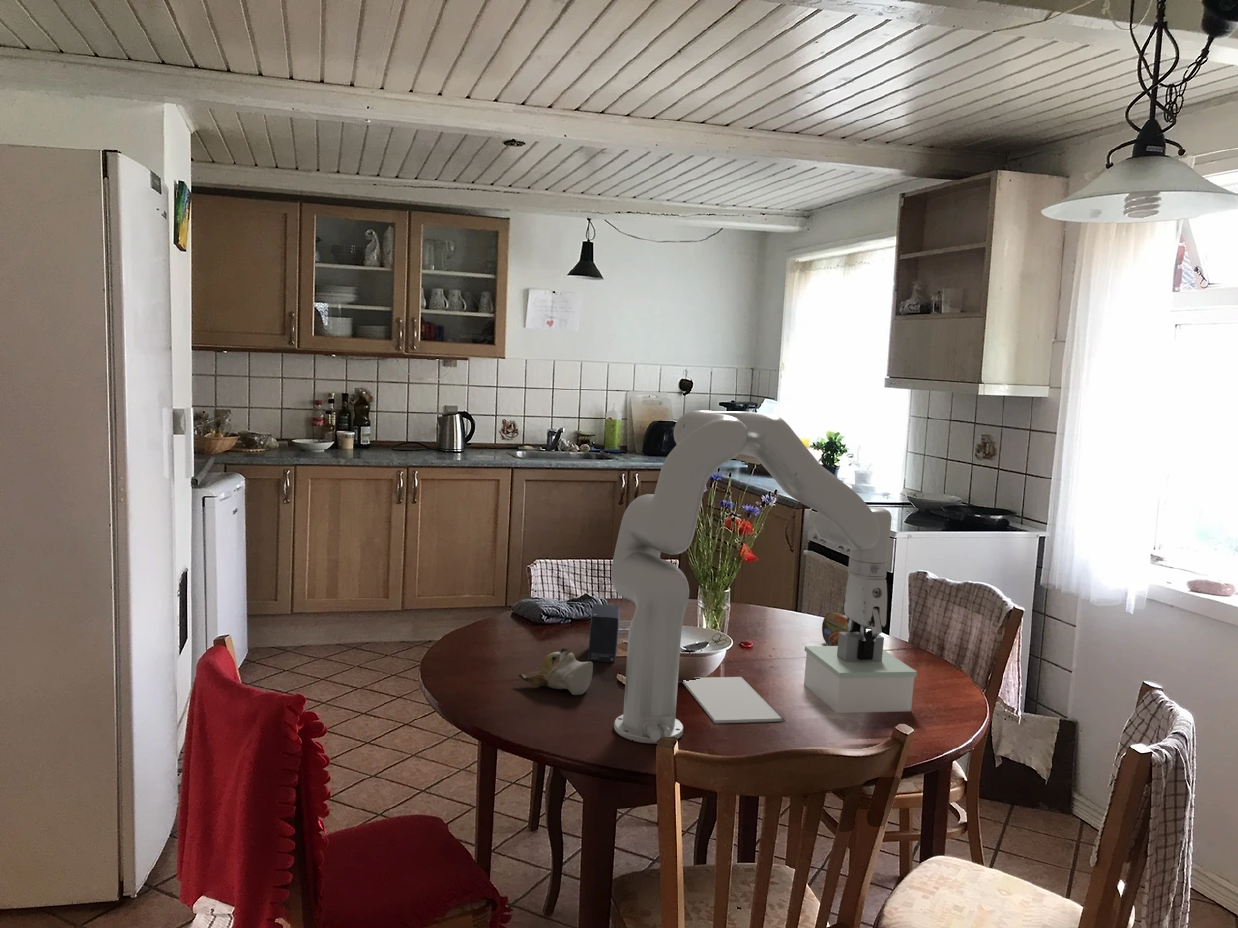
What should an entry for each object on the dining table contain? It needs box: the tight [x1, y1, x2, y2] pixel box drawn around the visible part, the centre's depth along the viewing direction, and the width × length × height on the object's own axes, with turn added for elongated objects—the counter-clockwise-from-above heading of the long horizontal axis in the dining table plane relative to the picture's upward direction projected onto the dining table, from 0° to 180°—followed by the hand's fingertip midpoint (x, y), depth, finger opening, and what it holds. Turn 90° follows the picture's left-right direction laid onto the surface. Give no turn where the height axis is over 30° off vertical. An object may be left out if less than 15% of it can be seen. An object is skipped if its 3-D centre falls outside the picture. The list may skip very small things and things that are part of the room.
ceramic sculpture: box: [517, 647, 594, 696], centre depth 189 cm, size 11×9×15 cm
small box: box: [587, 603, 620, 663], centre depth 212 cm, size 11×6×10 cm, turn 179°
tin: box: [821, 611, 848, 646], centre depth 227 cm, size 15×3×8 cm, turn 22°
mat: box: [682, 676, 786, 724], centre depth 189 cm, size 23×23×1 cm
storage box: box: [803, 652, 915, 714], centre depth 192 cm, size 16×16×8 cm
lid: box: [804, 631, 918, 678], centre depth 191 cm, size 17×17×7 cm
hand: (859, 654), depth 191 cm, fingers closed on lid, 4 cm apart
